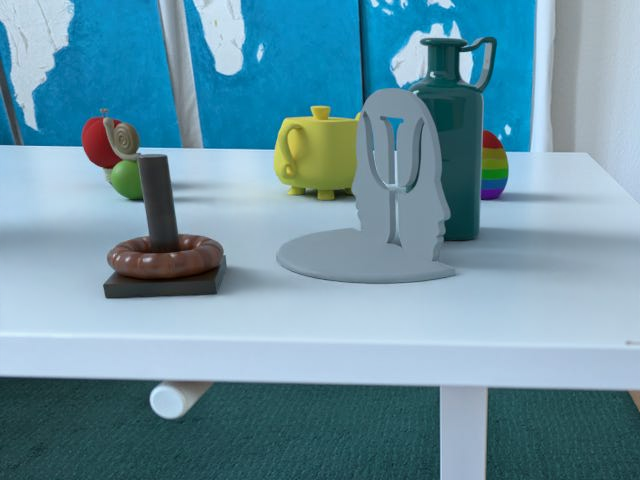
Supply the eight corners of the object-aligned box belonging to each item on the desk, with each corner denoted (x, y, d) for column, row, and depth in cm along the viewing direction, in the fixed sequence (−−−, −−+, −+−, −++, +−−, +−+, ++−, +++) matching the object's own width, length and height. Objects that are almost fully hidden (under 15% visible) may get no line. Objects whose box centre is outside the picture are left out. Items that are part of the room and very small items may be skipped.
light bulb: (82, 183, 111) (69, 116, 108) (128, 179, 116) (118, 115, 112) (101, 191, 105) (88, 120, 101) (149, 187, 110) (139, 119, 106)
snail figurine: (133, 193, 104) (119, 107, 100) (164, 198, 102) (151, 110, 97) (101, 199, 100) (84, 109, 95) (132, 203, 97) (117, 111, 93)
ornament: (458, 274, 70) (462, 93, 63) (337, 296, 62) (326, 93, 56) (352, 231, 86) (345, 83, 79) (244, 245, 78) (228, 82, 71)
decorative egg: (451, 199, 108) (452, 130, 104) (459, 190, 115) (460, 126, 111) (505, 202, 107) (508, 133, 103) (509, 193, 114) (512, 128, 110)
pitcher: (409, 241, 82) (407, 32, 73) (405, 225, 89) (403, 35, 81) (492, 240, 83) (500, 36, 75) (481, 225, 91) (487, 38, 82)
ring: (97, 283, 60) (92, 258, 59) (126, 255, 68) (122, 232, 67) (216, 280, 62) (213, 255, 61) (229, 252, 70) (227, 231, 69)
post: (105, 298, 60) (79, 162, 56) (129, 269, 68) (108, 149, 64) (216, 293, 62) (200, 162, 57) (227, 266, 70) (213, 149, 66)
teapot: (251, 195, 106) (242, 105, 101) (342, 180, 122) (338, 101, 117) (318, 206, 99) (313, 110, 94) (405, 189, 115) (404, 106, 110)
